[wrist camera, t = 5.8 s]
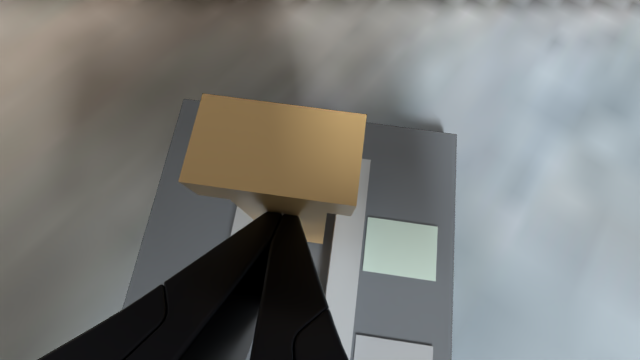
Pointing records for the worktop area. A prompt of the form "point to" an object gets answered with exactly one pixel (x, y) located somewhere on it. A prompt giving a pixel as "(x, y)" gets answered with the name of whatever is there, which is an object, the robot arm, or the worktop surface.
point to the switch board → (341, 242)
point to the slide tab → (276, 159)
